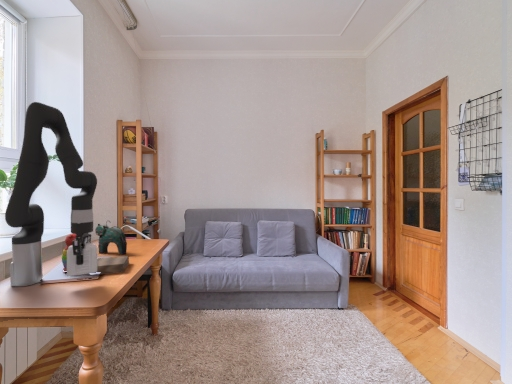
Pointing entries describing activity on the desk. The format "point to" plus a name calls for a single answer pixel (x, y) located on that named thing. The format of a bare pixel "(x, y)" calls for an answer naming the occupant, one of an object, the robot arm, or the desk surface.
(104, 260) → the walnut block
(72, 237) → the stacking bear
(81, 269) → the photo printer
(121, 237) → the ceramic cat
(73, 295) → the desk surface
